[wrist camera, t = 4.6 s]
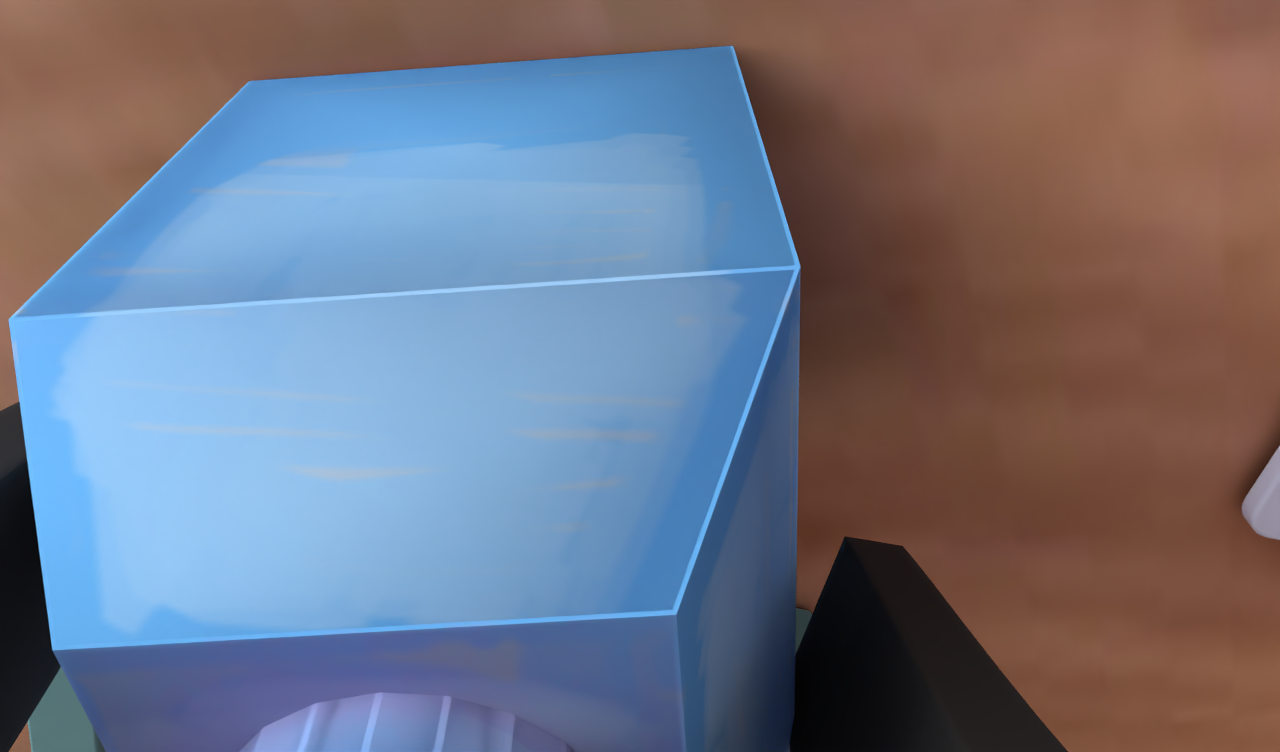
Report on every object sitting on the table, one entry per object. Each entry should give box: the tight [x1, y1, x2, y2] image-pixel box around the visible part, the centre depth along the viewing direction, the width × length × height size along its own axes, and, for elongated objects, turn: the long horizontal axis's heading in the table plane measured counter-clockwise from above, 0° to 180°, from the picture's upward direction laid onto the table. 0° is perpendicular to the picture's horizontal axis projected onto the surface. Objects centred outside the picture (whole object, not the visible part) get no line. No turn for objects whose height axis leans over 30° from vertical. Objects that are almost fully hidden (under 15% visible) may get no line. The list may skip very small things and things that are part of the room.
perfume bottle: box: [9, 46, 800, 752], centre depth 10 cm, size 6×6×12 cm
